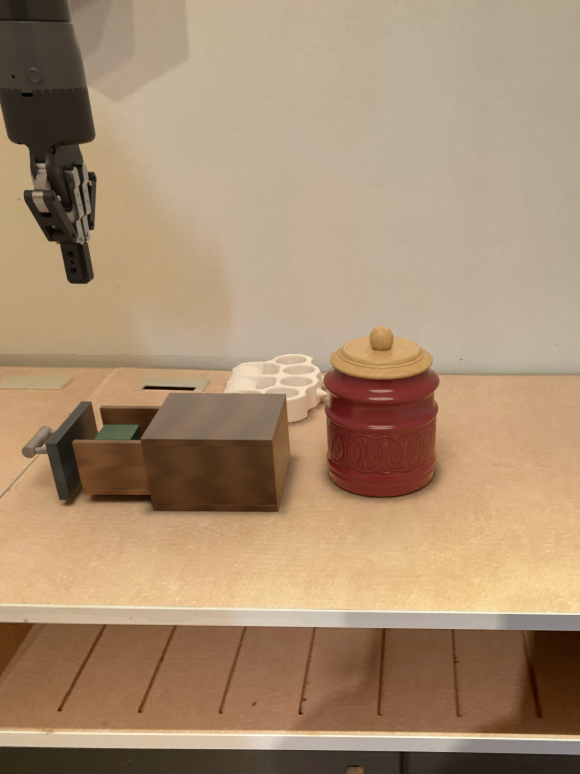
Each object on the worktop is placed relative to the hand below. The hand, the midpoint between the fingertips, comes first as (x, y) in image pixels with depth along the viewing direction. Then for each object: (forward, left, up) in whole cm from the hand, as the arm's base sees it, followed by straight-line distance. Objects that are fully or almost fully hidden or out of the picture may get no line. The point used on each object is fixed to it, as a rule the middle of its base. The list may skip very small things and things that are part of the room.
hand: (81, 281), depth 79 cm
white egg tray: (+15, +26, -23) cm, 38 cm away
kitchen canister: (+30, +3, -23) cm, 38 cm away
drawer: (-1, 0, -22) cm, 22 cm away
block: (+1, 0, -21) cm, 21 cm away
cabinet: (+12, 0, -23) cm, 26 cm away
